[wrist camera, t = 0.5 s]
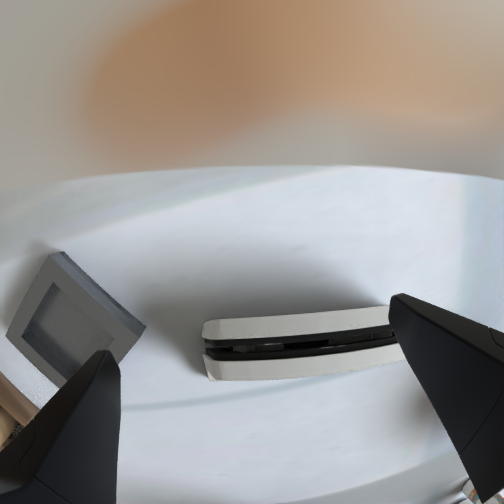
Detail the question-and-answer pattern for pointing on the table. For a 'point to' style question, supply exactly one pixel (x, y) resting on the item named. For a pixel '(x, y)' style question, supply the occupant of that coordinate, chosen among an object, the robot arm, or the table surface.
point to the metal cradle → (69, 321)
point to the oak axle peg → (6, 425)
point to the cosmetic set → (473, 500)
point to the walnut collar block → (15, 405)
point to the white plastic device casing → (299, 330)
